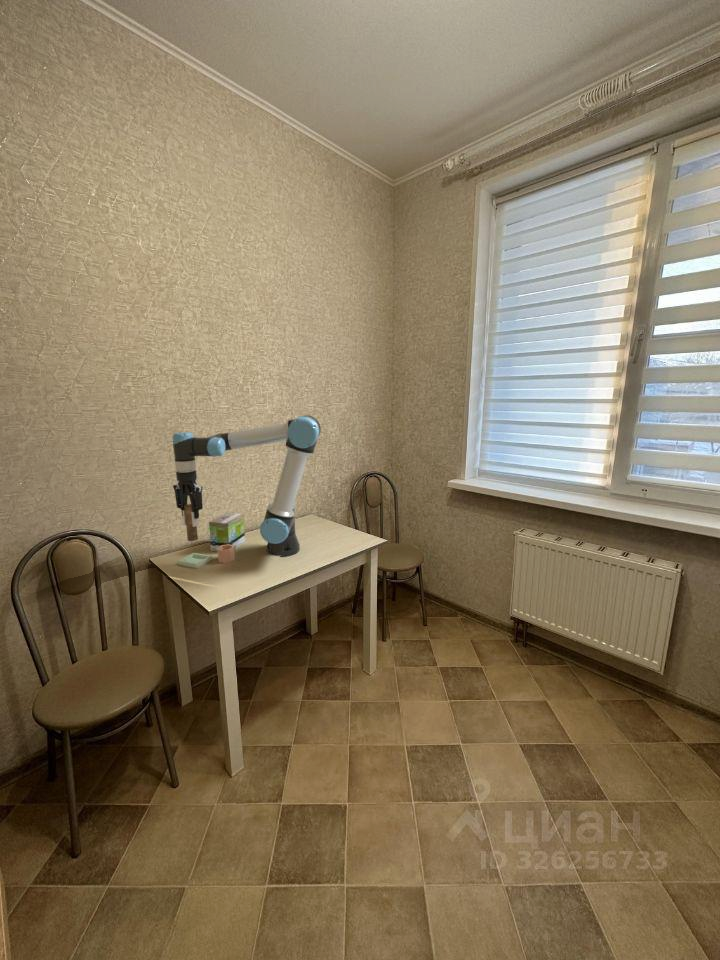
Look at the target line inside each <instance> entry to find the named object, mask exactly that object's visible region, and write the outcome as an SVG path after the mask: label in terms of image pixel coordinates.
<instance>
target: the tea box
mask: <svg viewBox="0 0 720 960" xmlns="http://www.w3.org/2000/svg"><path fill="white" fill-rule="evenodd" d="M208 529H209V530H208V531H209V544H210V546H209V547H210V551H211V552H212V551H214V552H218V551H217V548H218V547H219V546H221V545H227V544H229V545H233V546H234V549H236V548H238V547H239V546H241V544H243V543H245V542H246V530H245V514H244V513H234V512H233V513H231V512H225V513H224V514H222V515H220V516H218V517H216V518H214V519H212V520H210V521H208Z"/></svg>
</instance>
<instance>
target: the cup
mask: <svg viewBox="0 0 720 960" xmlns="http://www.w3.org/2000/svg"><path fill="white" fill-rule="evenodd" d="M216 552H217V560H218V563H221V564H229V563H232V562H233V561H235V560H236V558H235V557H236V556H235V548H234V546H233V545H229V544H227V545H221V546H219V547H218V548H217V551H216Z"/></svg>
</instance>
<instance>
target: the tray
mask: <svg viewBox="0 0 720 960" xmlns="http://www.w3.org/2000/svg"><path fill="white" fill-rule="evenodd" d="M212 560H213V555H208V554H203V553H197V552H192V553H191V554H189V555H187V556H184V557H183V558H180V559H179V560H177V564H178V566H184V567H188V568H194V569H198V568H201V567H202V566H203V565H206V564H207V563H209V562H211V561H212Z"/></svg>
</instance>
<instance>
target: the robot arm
mask: <svg viewBox="0 0 720 960" xmlns="http://www.w3.org/2000/svg"><path fill="white" fill-rule="evenodd" d="M321 427H322V426H321V424H320V422H319V421H318V420H317V418H316V417H314V416H311V415H307V414H306V415H302V416H301V415H300V416H298V417H296V418H294V419H293V418H292V419H288V420H287V421H286V422H285V423H278V424H273V425H272V424H271V425H266V426H260V427H253V428H249V429H243V430H236V431H235V430H234V431H230V432H225V433H222V432H221V433H217V434H214V435H212V436H207V437H194V435H193V432H190V431H182V432H175V433H173V435H172V448H173V455H174V465H175V466H174V467H175V471H176V472H175V475H176V481H178V482H177V484H174V485H172V489H173V491H174V498H175V503H176V508H177V509H180V510H181V516H182V519H183V520H182V521H183V526H186V519H185V509H184V505H187V504H188V500H189V501H190V504H191V506H192V509H193V511H192V512H191V514H192V525H193V527H195V526H197V527H198V526H199V523H200V522H199V518H200V513H199V512H200V510H203V507H204V506H203V493H202V492H203V486H199V485H198V483H197V481H196V480H197V476H198V475H197V471H196V469H197V468H196V467H197V466H196V457H215V458H216V457H222V456H223V455H225V452H227V451H232V450H236V449H244V448H250V447H255V446H256V447H257V446H264V445H268V444H269V445H270V444H275V443H276V444H277V443H281V442H285V445H284V446H285V448H286V449H287V451H286V456H285V459H284V462H283V467H282V469H281V473H280V477H279V480H278V483H277V486H276V490H275V494H274V498H273V501H272V502H271V503H269V504H268V505H267V507H266V512H265V514H264V518H263V521H262V522H261V524H260V528H259V533H260V536H261V537H262V539H263V540H264V541H266V542H267V544H266V552H267V553H268V554H270V555H272V556H279V557H289V556H293V555H295V554H297V553H298V552H299V551H300V550H301V549H300V548H301V545H300V542H299V538H298V537H297V534H296V515H295V513H296V512H295V510H296V509H295V502H296V498H297V496H298V492H299V488H300V485H301V483H302V478H303V475H304V471H305V468H306V464H307V462H308V458H309V457H310V456H311V455H313V454H314V452H315V448H316V445H317V443H318V439H319V437H320V436H321V432H322V431H321ZM188 497H189V498H188Z"/></svg>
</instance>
